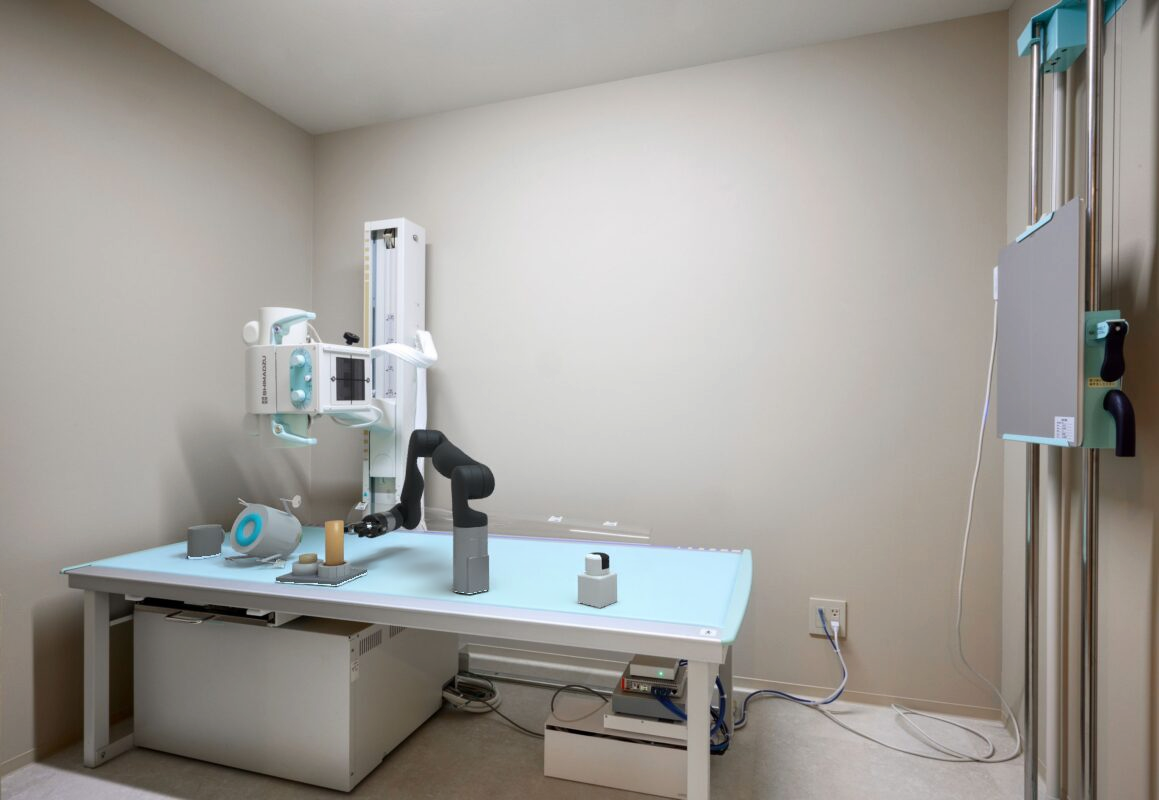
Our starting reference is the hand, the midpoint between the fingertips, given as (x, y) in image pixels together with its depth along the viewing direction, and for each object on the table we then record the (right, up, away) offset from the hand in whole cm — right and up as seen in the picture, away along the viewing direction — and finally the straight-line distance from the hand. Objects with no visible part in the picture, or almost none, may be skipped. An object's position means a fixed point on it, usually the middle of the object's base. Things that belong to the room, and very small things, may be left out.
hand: (346, 533), depth 178 cm
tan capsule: (-1, -10, -6) cm, 12 cm away
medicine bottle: (+74, -11, -30) cm, 81 cm away
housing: (-5, -12, -5) cm, 14 cm away
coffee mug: (-59, -14, +28) cm, 66 cm away
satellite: (-33, -13, +17) cm, 40 cm away
